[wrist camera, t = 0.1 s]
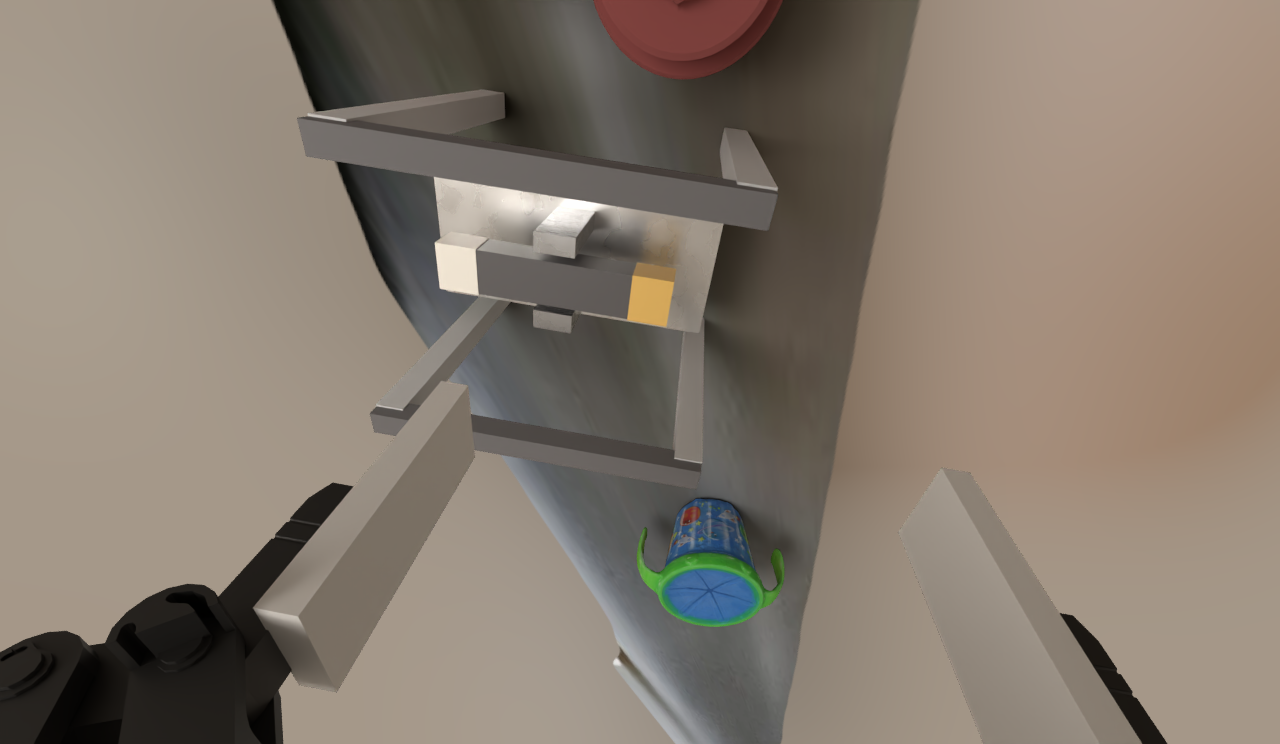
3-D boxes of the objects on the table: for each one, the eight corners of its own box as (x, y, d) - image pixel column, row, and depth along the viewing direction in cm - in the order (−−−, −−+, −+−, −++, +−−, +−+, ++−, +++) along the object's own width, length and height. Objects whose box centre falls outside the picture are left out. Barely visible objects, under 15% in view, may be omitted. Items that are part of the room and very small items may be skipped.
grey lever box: (476, 145, 36) (383, 180, 26) (723, 184, 36) (730, 236, 25) (483, 260, 41) (408, 327, 31) (699, 296, 41) (697, 377, 31)
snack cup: (791, 503, 53) (806, 588, 45) (758, 559, 59) (766, 642, 51) (655, 470, 53) (645, 548, 44) (635, 529, 59) (623, 608, 50)
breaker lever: (450, 231, 29) (434, 242, 28) (676, 268, 29) (674, 282, 27) (455, 275, 31) (440, 288, 29) (668, 311, 30) (666, 326, 29)
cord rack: (482, 89, 34) (295, 115, 19) (747, 130, 34) (780, 192, 18) (493, 299, 43) (373, 433, 28) (700, 334, 43) (696, 490, 27)
